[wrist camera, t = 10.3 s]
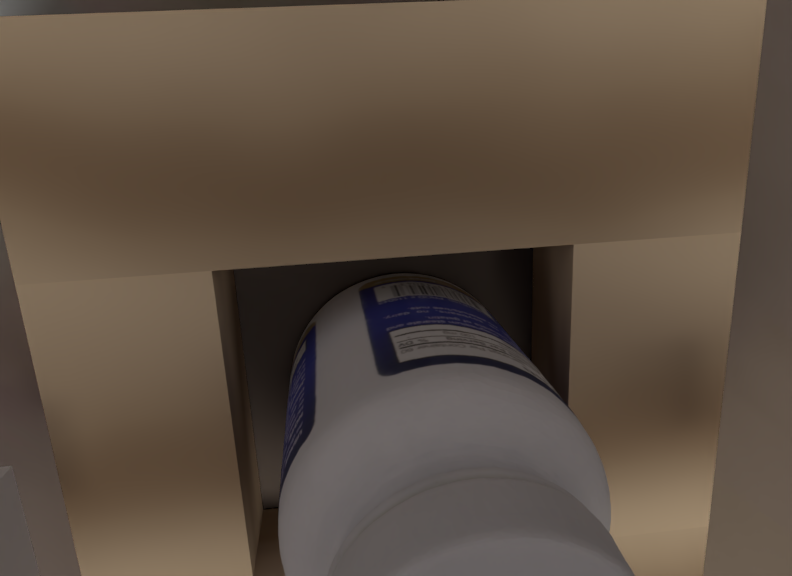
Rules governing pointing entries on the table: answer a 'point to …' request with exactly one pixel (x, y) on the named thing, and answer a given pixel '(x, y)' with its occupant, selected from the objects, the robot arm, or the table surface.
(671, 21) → the jig
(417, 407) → the pill bottle
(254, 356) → the table surface
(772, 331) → the table surface
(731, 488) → the table surface
